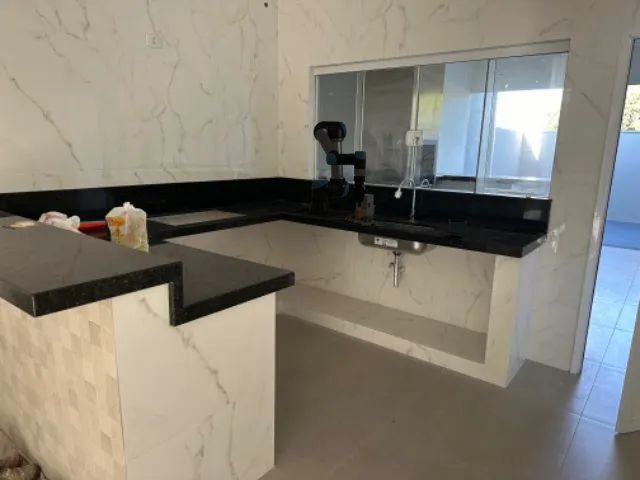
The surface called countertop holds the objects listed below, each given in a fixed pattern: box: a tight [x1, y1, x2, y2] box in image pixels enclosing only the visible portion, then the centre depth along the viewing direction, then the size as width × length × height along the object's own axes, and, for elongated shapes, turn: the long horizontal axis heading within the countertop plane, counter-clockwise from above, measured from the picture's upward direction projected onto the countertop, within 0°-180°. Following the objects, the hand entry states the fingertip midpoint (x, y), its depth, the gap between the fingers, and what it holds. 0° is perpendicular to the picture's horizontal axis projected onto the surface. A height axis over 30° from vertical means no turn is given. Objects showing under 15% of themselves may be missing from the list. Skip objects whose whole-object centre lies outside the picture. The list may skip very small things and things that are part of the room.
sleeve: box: [354, 209, 366, 220], centre depth 291 cm, size 4×6×6 cm, turn 122°
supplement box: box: [361, 193, 374, 217], centre depth 313 cm, size 9×9×15 cm
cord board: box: [344, 213, 379, 227], centre depth 291 cm, size 20×12×5 cm, turn 32°
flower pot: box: [448, 219, 468, 236], centre depth 255 cm, size 9×9×9 cm
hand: (358, 211), depth 293 cm, fingers closed
